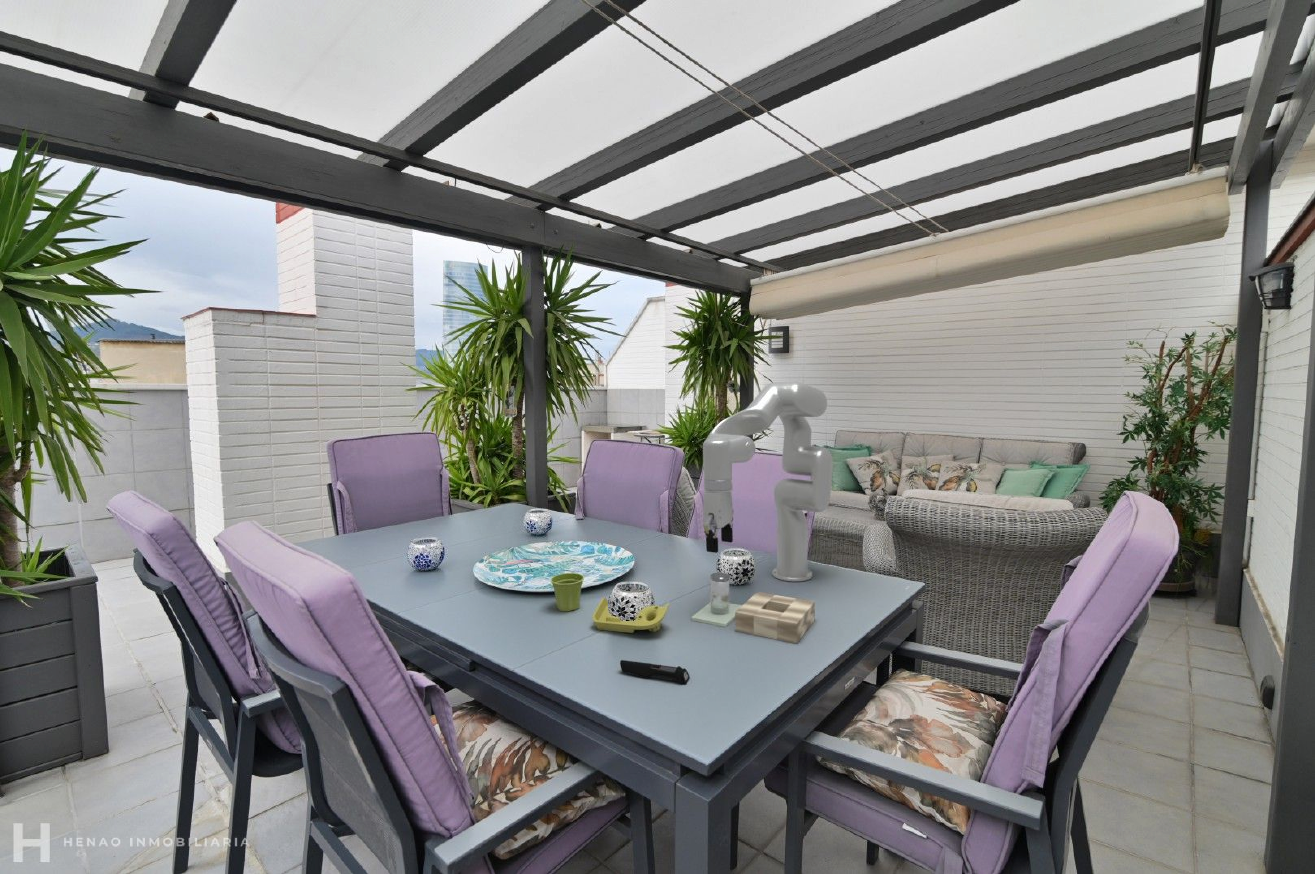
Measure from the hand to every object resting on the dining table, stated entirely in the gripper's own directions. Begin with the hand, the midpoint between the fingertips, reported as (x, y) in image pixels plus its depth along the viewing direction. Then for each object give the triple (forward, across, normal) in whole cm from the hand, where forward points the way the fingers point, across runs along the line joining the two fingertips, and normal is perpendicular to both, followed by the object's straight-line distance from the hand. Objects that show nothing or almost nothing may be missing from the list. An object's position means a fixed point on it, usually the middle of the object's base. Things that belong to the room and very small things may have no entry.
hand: (719, 546), depth 163 cm
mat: (+19, +1, 0) cm, 19 cm away
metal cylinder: (+18, +1, 0) cm, 18 cm away
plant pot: (+18, +16, -40) cm, 47 cm away
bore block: (+19, +1, +16) cm, 25 cm away
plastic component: (+18, +19, -17) cm, 32 cm away
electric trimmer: (+18, +39, +1) cm, 43 cm away
